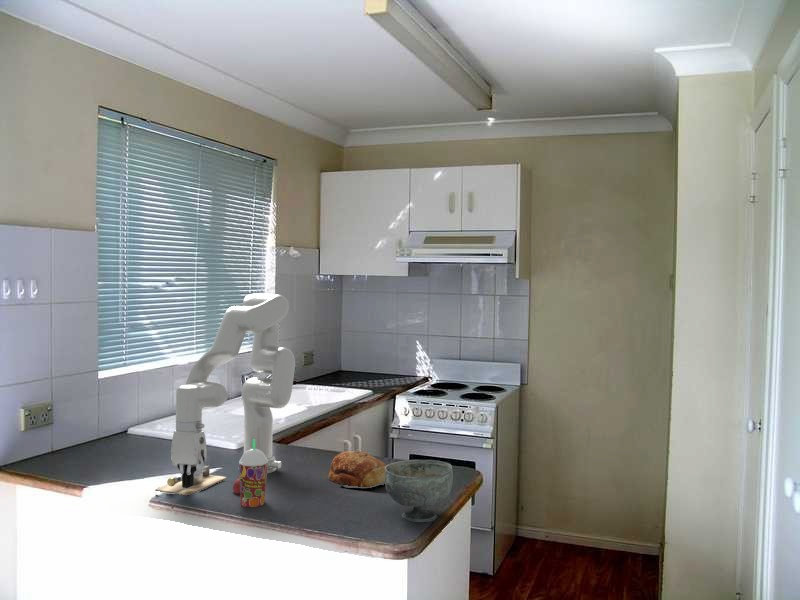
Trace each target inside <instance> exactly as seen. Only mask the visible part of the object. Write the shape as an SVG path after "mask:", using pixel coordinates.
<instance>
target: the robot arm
mask: <svg viewBox="0 0 800 600" xmlns="http://www.w3.org/2000/svg"><path fill="white" fill-rule="evenodd" d="M289 309H290V304H289V301H288V299H287V298H286V297H285V295H281V294H277V293H275V294H274V293H273V294H272V293H251V294H248V295H246V296H245V297H244V299H243V301H242V305H236V306H235V305H233V306H230V307H229V308H227V310H225V313H224V314H223V317H222V320H221V322H220V325H219V328H218V331H217V332H216V335H215V337H214V341H213V343H212V345H211V347H210V349H208V350H207V351H206V353H203V354H202V356H201V357H200V358H199V359H198V360H197V361H196V362H195V363H194V365H193V366H192V368H191V369H190V371H189V374H188V377H187V378H186V381H185V384H181V385H180V386H178V387H177V388H176V393H175V394H176V395H175V430H174V431H173V435H172V440H171V446H170V447H171V448H170V449H171V450H170V458H171V459H170V460H171V461H172V462H171V465H172V466H174V467H175V468H178V470H179V473H180V475H182V487H183V488H189V487H191V486H193V482H194V473H195V472H196V470H198V469H202V468H204V463H205V462H207V459H208V454H207V453H208V452H207V438H206V434H205V431H204V430H203V429H204V428H205V424H204V423H203V422H202V421H203V408H218V407H221V406H222V405H223V404H225V403H226V401H227V399H228V390H227V388H226V387H225V386H224V385H223V384H220V383H217V382H211V381H208V379H209V378H210V376H211V374H212V373H213V372H214V371H215V370H216V369H217V368H219V367H220V366H223V365H224V364H227V363H228V362H230V361H232V360H234V359H236V358H237V357H238V355H239V353H240V350H241V347H242V345H243V342H244V340H245V336H246V334H247V333H250V334H253V340H252V341H253V342H252V348H251V349H252V350H251V356H250V368H251V369H252V370H253V372H255V373H258V374H265V375H271V378H270V377H258V376H255V377H250V378H248V379H246V380H245V382H243V384H242V386H241V399H242V406H243V413H244V414H243V416H244V417H243V419H244V421H243V454H244V453H245V452H246V451H247V450H249V449H253V439H255V449H259V450H261V451H262V452H263V453H264V454H265V456H266V458H267V460H268V467H267V475H268V474H271V473H273V472H276V471H277V469H281V467H282V461H281V460H280V461H279V460H276V457H275V456H273V428H274V427H273V425H274V424H273V423H274V422H273V421H274V418H273V413H272V410H271V408H272V409H282V408H285V407H286V406H288V404H289V403H290V400H291V396H292V392H293V384H294V379H295V371H296V358H295V354H294V353H293V352H292V350H291V349H290V348H288V347H282V346H279V341H280V328H279V324H278V323H279V322H281V321H282V320H283V319H285V318H286V316H287V315H288V312H289Z"/></svg>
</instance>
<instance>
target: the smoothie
mask: <svg viewBox="0 0 800 600" xmlns="http://www.w3.org/2000/svg"><path fill="white" fill-rule="evenodd" d="M267 467H268V460H267V458H266V456H265V454H264V453H263V452H262V451H261V450H259V449H255V439H253V449H249V450H247V451H246V452H245V453H244V452H243V453H242V456H241V457H240V459H239V460H238V471H239V472H238V473H239V475H238V476H239V478H240V494H239V496H240V505H241V507H245V508H257V507H261V506H263V505H265V503H266V491H267V489H266V488H267V478H268V474H267Z"/></svg>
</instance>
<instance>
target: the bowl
mask: <svg viewBox="0 0 800 600" xmlns="http://www.w3.org/2000/svg"><path fill="white" fill-rule="evenodd" d="M453 481H454V472H453V465H452V464H451V463H449V462H446V461H440V460H435V459H410V460H409V459H408V460H401V461H396V462H391V463H389V464H387V466H385V481H384V483H385V485H384V486H385V490H386V491H387V494H388V495H389V496H390V497H391V499H392V500H394V501H395V502H396V503H397V504H398V505H400V506H403V507H411V509H408V510H405V511H404V512H403V513H402V514H401V517H402V518H403V519H404V520H407V521H410V522H414V523H429V522H432V521H435V520H436V519H437V518H438V515H437V513H435V512H434V511H433V510H430V509H427V508H426V507H431V506H435V505H438V504H439V503H441V502H443V501H444V500H445V499H446V498H447V497H448V496H449V495H450V493H451V491H452V488H453Z"/></svg>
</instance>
